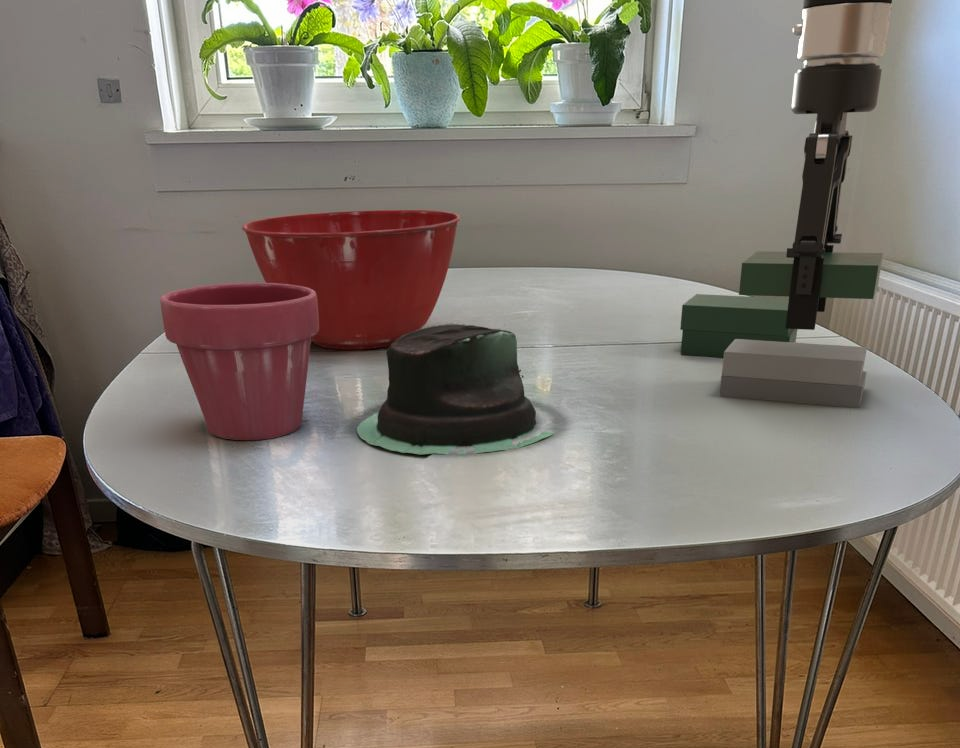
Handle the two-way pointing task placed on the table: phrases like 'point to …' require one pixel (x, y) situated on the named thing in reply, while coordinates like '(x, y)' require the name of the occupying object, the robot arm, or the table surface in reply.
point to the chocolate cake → (452, 393)
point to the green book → (839, 275)
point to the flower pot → (245, 353)
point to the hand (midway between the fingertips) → (805, 319)
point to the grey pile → (794, 372)
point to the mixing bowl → (360, 268)
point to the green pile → (731, 322)
